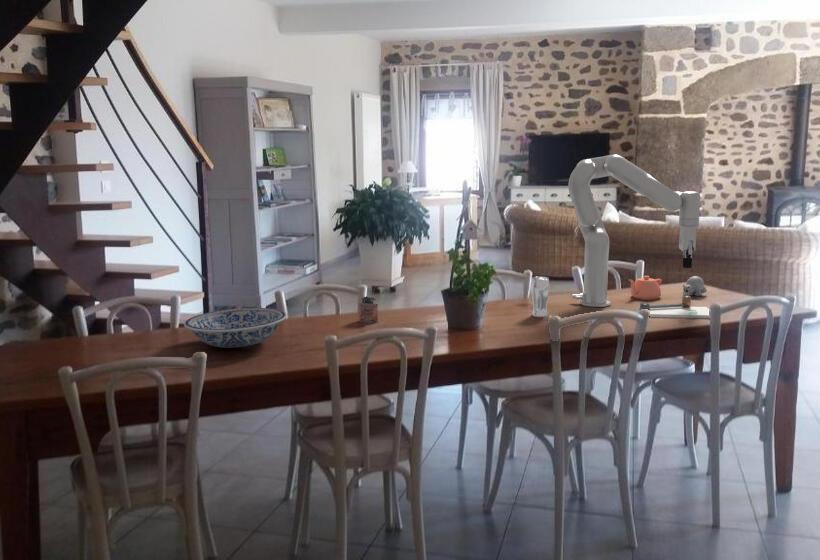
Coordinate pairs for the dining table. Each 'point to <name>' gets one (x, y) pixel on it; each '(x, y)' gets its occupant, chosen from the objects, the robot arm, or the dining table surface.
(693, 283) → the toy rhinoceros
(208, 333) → the ceramic bowl
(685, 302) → the tuning lever
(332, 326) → the dining table surface
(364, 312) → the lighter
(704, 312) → the tuner dial board
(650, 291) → the teapot
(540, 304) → the beer glass
